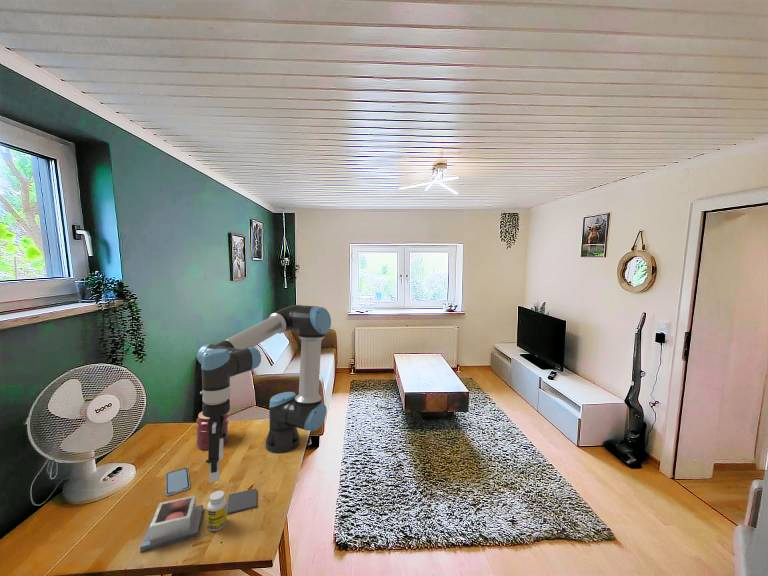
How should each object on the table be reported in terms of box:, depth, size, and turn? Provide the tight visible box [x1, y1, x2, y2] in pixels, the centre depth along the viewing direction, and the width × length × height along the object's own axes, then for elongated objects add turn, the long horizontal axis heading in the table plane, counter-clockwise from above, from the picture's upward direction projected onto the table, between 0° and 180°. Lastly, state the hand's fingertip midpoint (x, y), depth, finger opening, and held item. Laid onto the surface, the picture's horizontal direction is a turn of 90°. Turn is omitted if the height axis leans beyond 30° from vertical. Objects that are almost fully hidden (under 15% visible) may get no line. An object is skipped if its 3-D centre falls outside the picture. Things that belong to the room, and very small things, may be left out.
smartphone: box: [165, 467, 191, 497], centre depth 118 cm, size 7×1×15 cm
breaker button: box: [165, 512, 184, 521], centre depth 97 cm, size 5×5×2 cm
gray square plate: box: [227, 488, 257, 515], centre depth 109 cm, size 9×9×1 cm
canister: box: [195, 411, 229, 451], centre depth 145 cm, size 13×13×18 cm
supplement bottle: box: [206, 490, 228, 532], centre depth 98 cm, size 5×5×10 cm
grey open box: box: [139, 494, 204, 553], centre depth 97 cm, size 14×12×6 cm
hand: (216, 469), depth 98 cm, fingers open, 11 cm apart
